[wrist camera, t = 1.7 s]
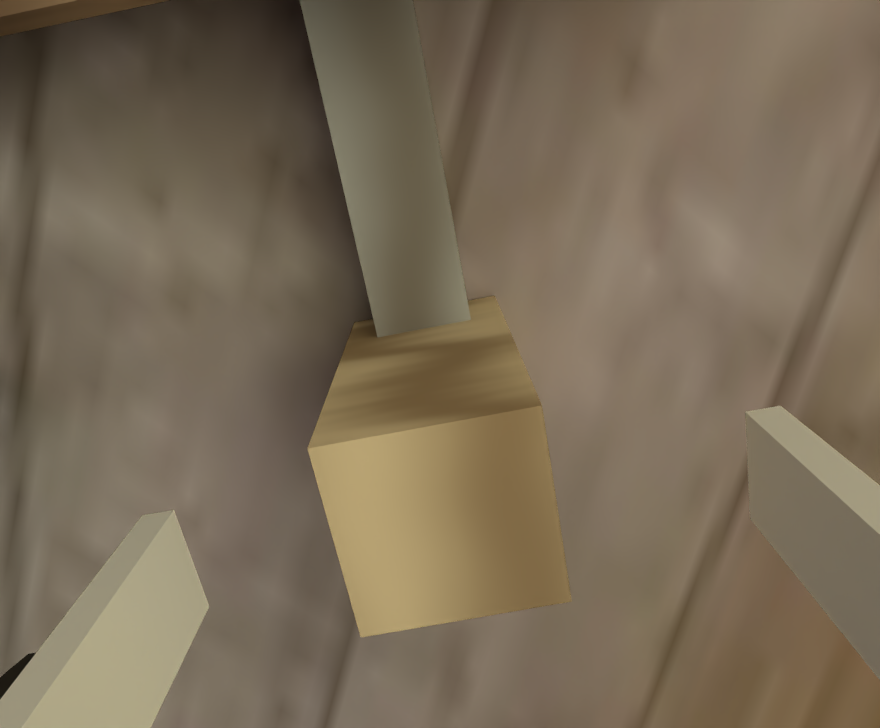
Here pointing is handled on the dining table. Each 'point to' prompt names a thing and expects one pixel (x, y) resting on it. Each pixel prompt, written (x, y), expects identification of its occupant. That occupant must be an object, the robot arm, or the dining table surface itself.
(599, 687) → the dining table surface
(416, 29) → the tool
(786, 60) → the dining table surface
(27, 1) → the shelf
